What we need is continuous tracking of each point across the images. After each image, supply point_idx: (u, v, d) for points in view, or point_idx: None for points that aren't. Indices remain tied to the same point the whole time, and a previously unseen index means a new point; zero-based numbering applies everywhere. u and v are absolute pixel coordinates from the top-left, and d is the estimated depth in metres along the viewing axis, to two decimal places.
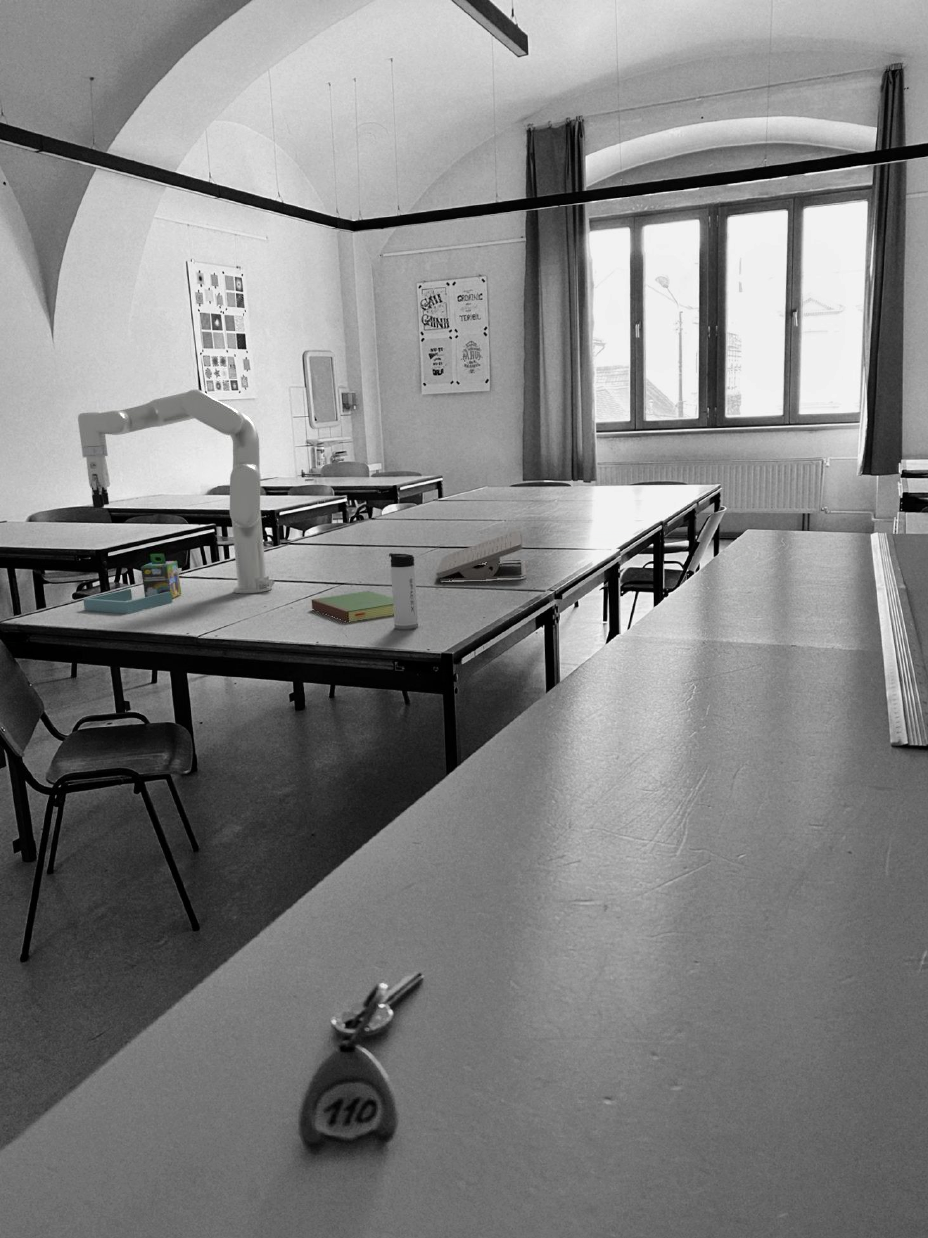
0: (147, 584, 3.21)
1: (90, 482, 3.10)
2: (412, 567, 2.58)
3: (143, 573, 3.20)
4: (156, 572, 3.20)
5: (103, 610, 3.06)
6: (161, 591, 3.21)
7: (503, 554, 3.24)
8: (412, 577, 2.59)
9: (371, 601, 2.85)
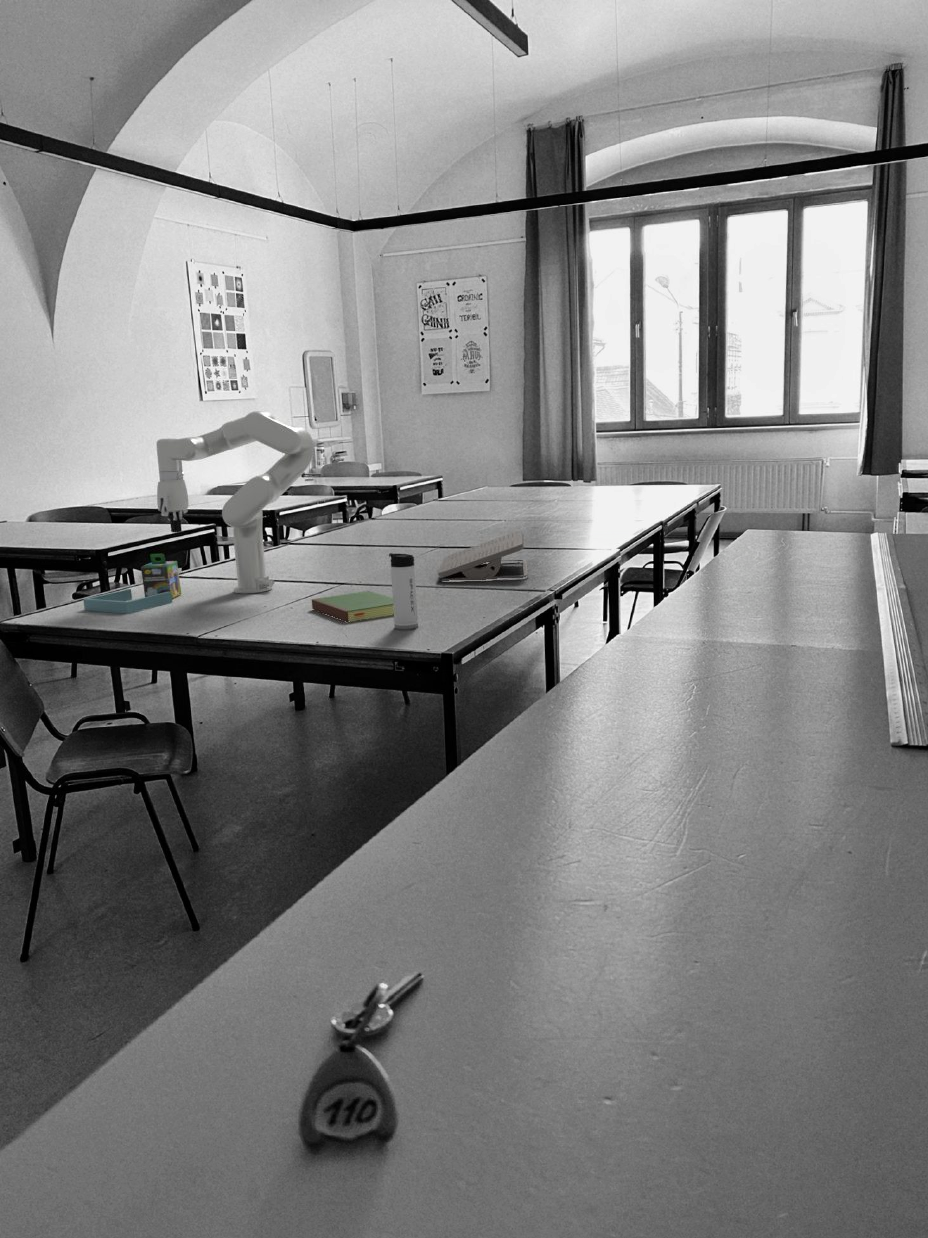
0: (147, 584, 3.21)
1: None
2: (412, 567, 2.58)
3: (143, 573, 3.20)
4: (156, 572, 3.20)
5: (103, 610, 3.06)
6: (161, 591, 3.21)
7: (505, 554, 3.24)
8: (412, 577, 2.59)
9: (371, 601, 2.85)
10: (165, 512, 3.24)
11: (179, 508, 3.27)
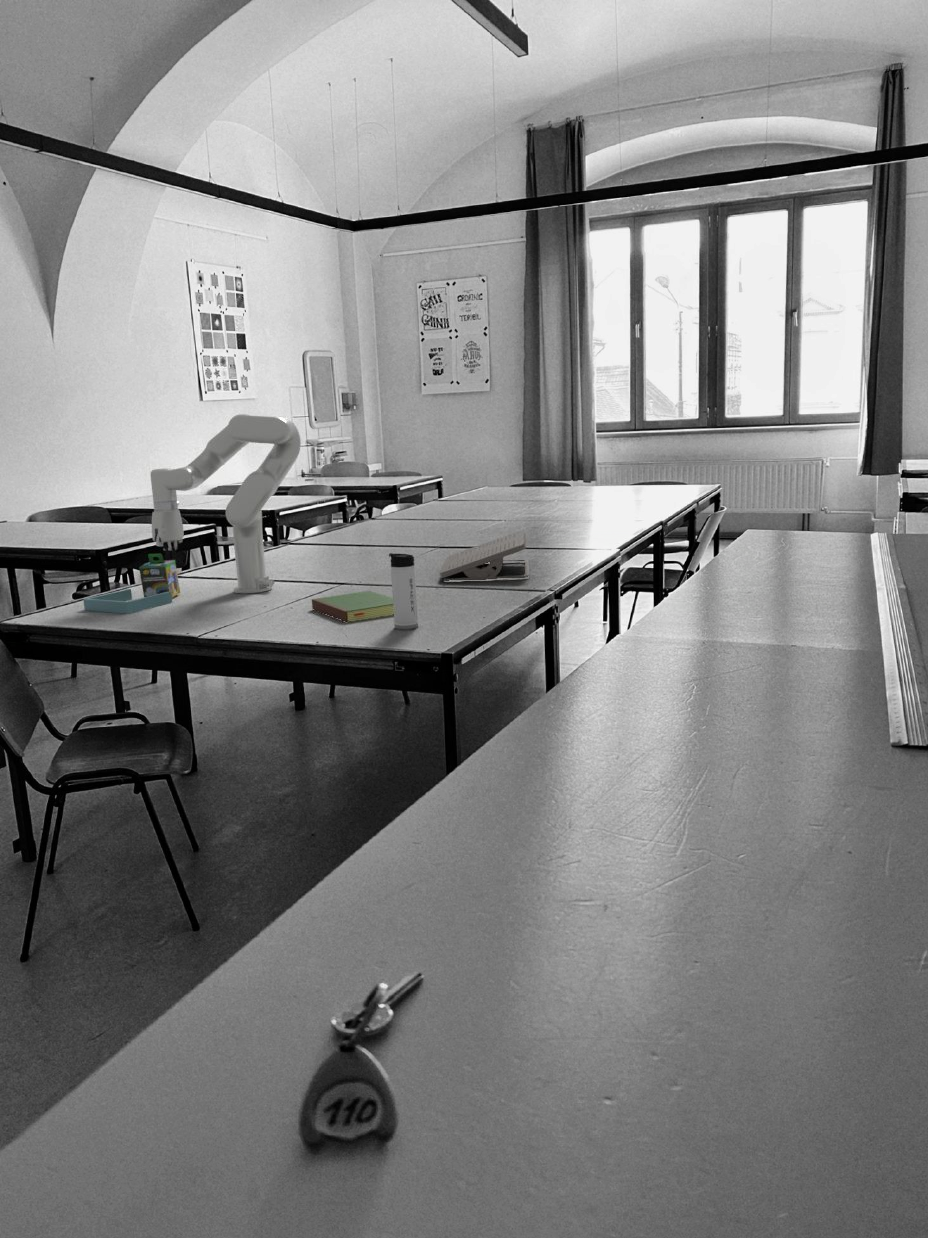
0: (146, 584, 3.20)
1: None
2: (412, 567, 2.58)
3: (141, 573, 3.20)
4: (154, 572, 3.19)
5: (103, 610, 3.06)
6: (160, 591, 3.21)
7: (506, 554, 3.24)
8: (412, 577, 2.59)
9: (371, 601, 2.85)
10: (160, 542, 3.23)
11: (174, 538, 3.26)
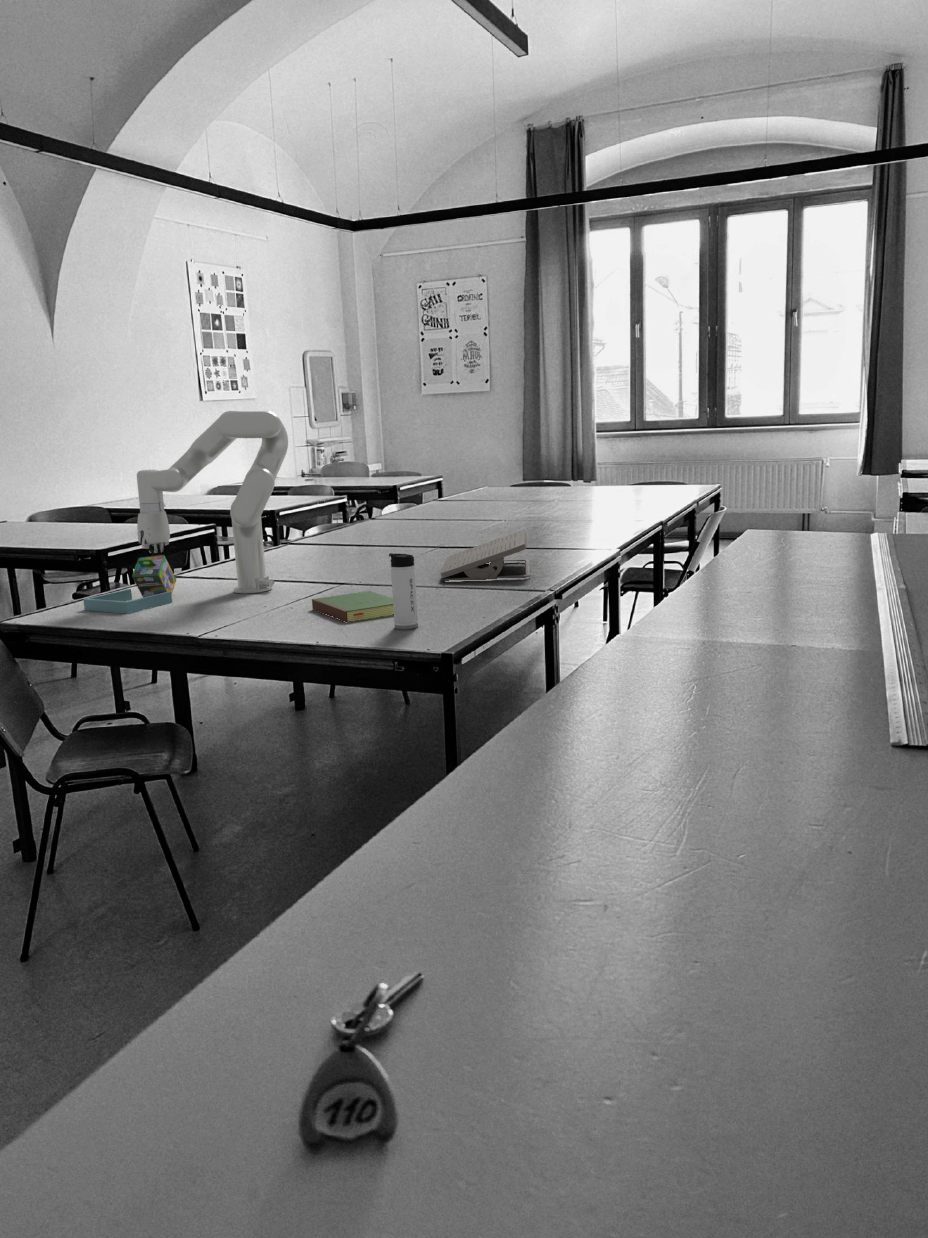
0: (143, 588, 3.18)
1: None
2: (412, 567, 2.58)
3: (136, 580, 3.15)
4: (149, 579, 3.15)
5: (103, 610, 3.06)
6: (158, 593, 3.19)
7: (507, 554, 3.24)
8: (412, 577, 2.59)
9: (371, 601, 2.85)
10: (145, 545, 3.18)
11: (160, 540, 3.21)
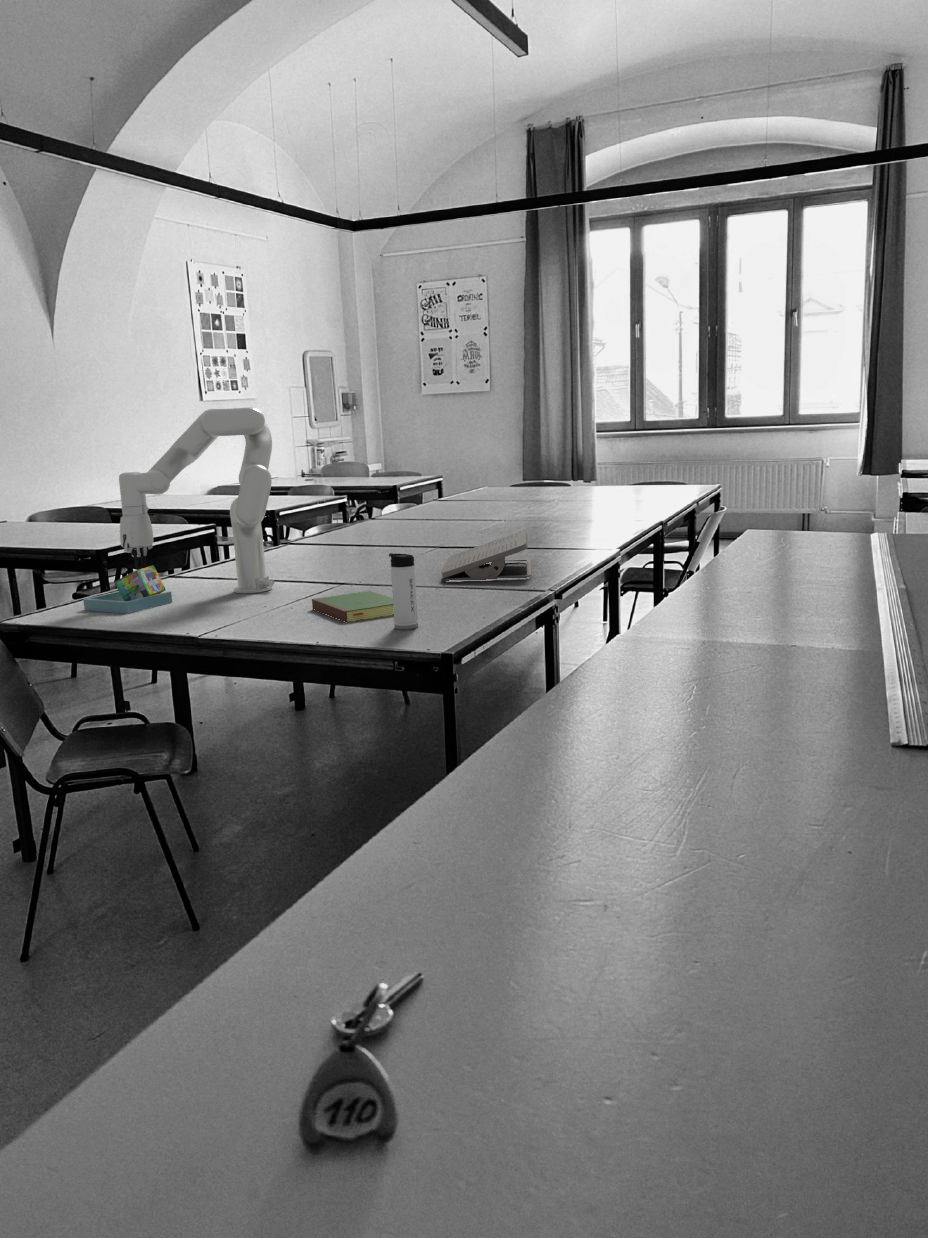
0: None
1: None
2: (412, 567, 2.58)
3: None
4: None
5: (103, 610, 3.06)
6: None
7: (508, 554, 3.24)
8: (412, 577, 2.59)
9: (370, 601, 2.85)
10: (128, 548, 3.12)
11: (143, 544, 3.15)
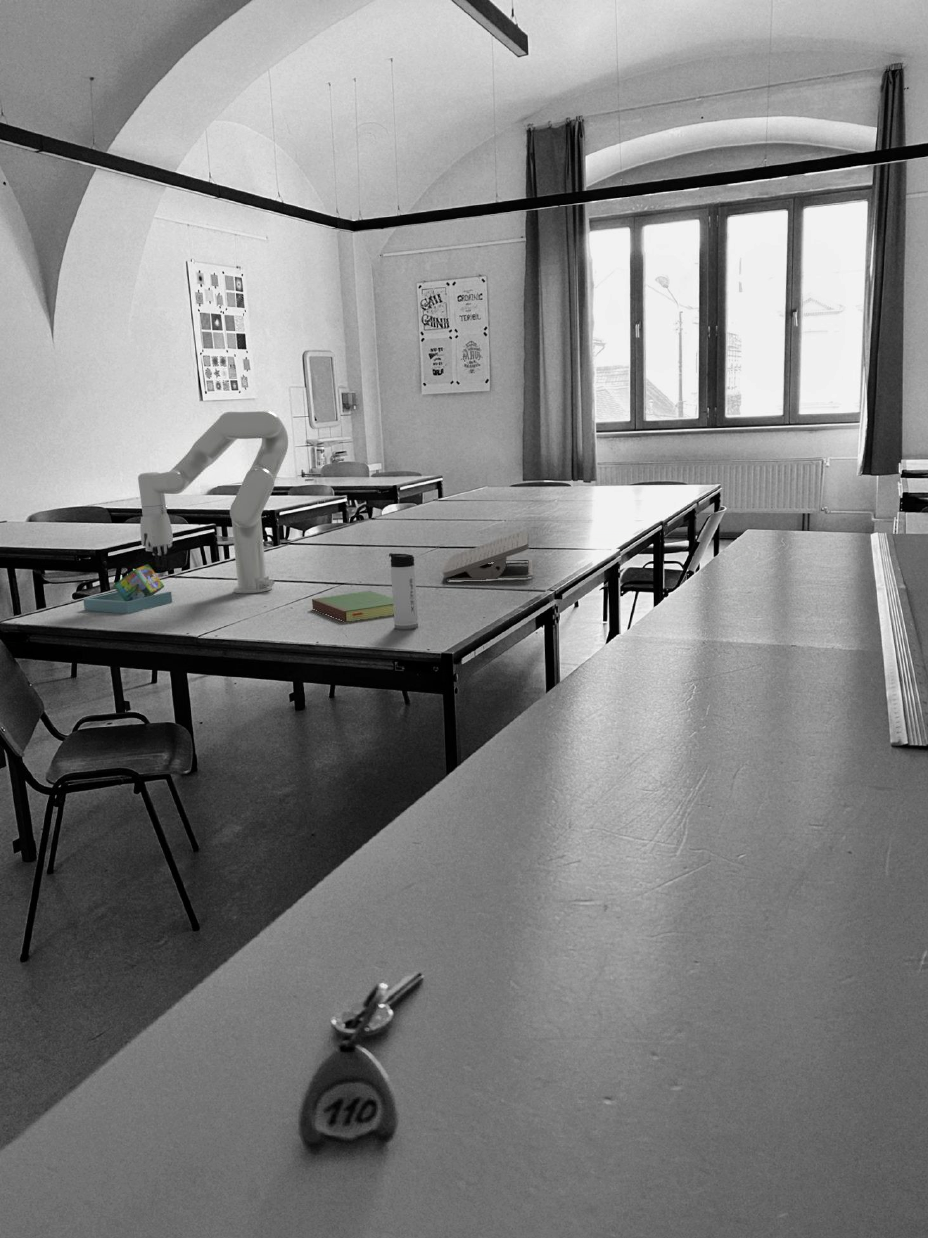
0: None
1: None
2: (412, 567, 2.58)
3: None
4: None
5: (103, 610, 3.06)
6: (154, 593, 3.18)
7: (510, 554, 3.24)
8: (412, 577, 2.59)
9: (370, 601, 2.85)
10: (149, 547, 3.18)
11: (163, 543, 3.22)
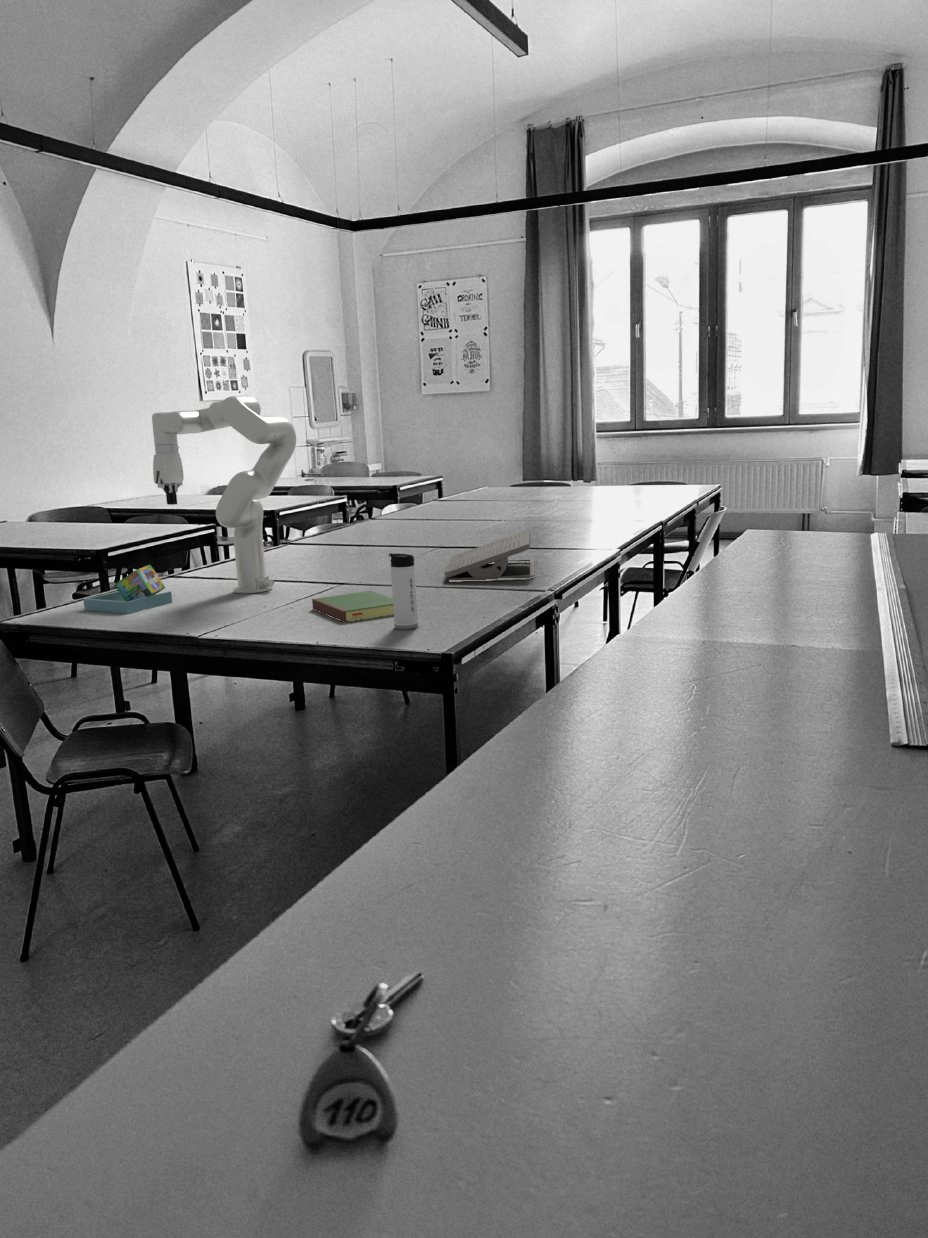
0: None
1: None
2: (412, 567, 2.58)
3: None
4: None
5: (103, 610, 3.06)
6: (155, 593, 3.18)
7: (511, 554, 3.24)
8: (412, 577, 2.59)
9: (370, 601, 2.85)
10: (161, 484, 3.31)
11: (175, 481, 3.34)
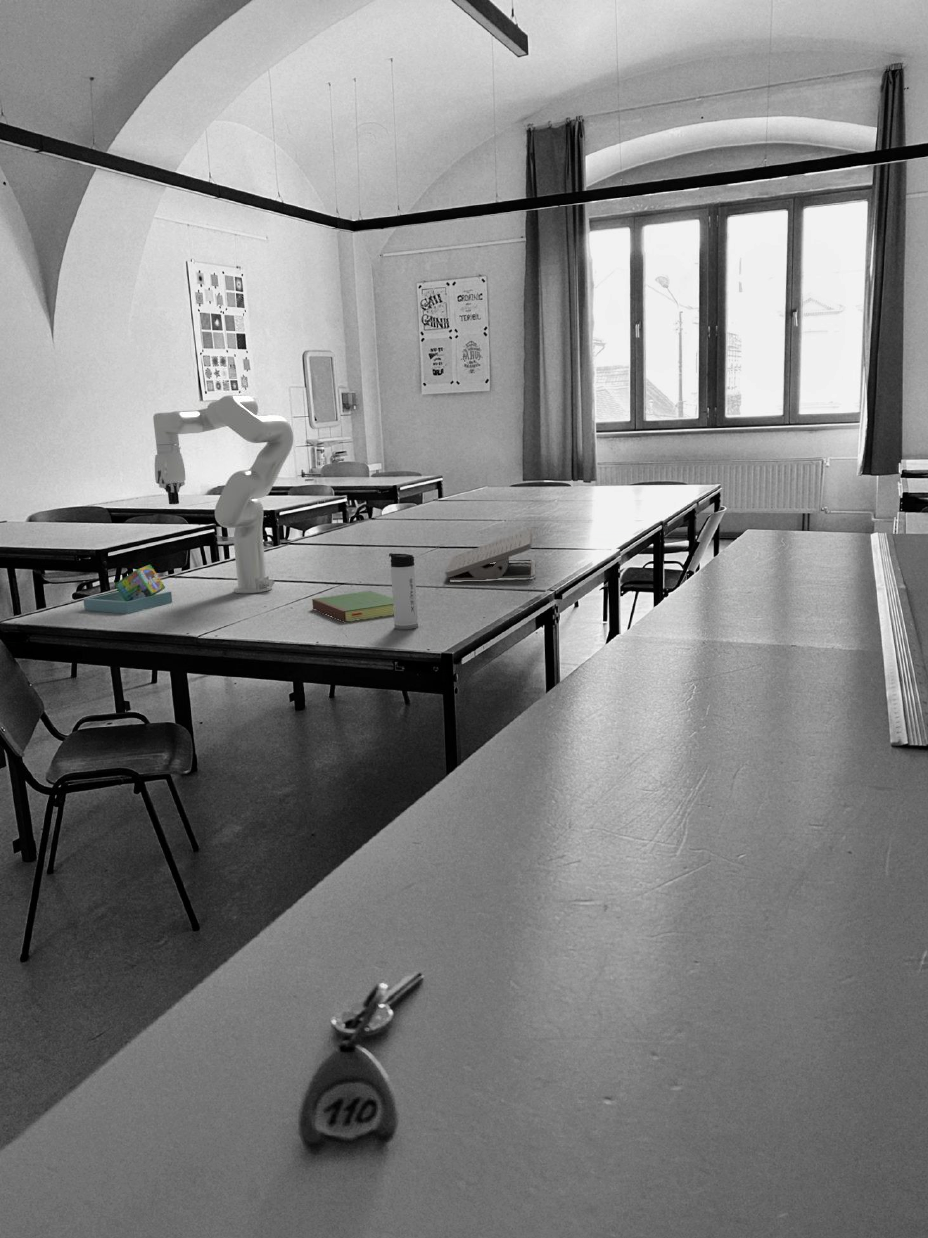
0: None
1: None
2: (412, 567, 2.58)
3: None
4: None
5: (103, 610, 3.06)
6: (155, 593, 3.18)
7: (512, 554, 3.24)
8: (412, 577, 2.59)
9: (370, 601, 2.85)
10: (163, 484, 3.33)
11: (176, 480, 3.36)
